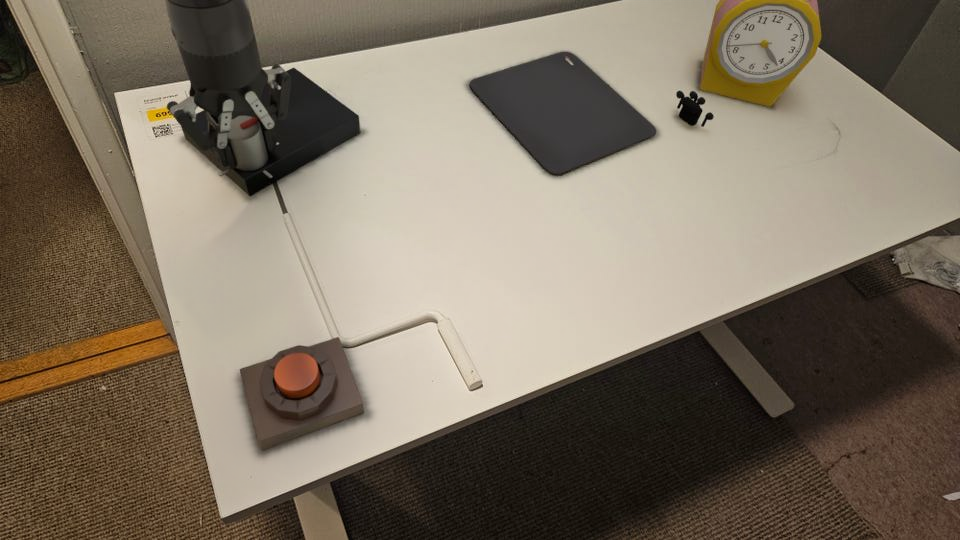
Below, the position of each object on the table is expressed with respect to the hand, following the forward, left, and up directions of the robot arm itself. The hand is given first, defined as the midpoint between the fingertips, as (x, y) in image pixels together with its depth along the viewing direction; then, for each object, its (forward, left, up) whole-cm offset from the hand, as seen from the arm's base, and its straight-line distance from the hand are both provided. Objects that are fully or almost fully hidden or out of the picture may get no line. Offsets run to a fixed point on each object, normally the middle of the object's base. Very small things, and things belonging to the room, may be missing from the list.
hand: (249, 156), depth 75 cm
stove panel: (+5, +4, -4) cm, 7 cm away
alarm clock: (+72, -25, -4) cm, 77 cm away
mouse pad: (+43, -13, -4) cm, 45 cm away
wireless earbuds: (+57, -26, -4) cm, 63 cm away
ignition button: (-11, -30, 0) cm, 32 cm away
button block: (-11, -30, -4) cm, 32 cm away
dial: (0, 0, 0) cm, 0 cm away
